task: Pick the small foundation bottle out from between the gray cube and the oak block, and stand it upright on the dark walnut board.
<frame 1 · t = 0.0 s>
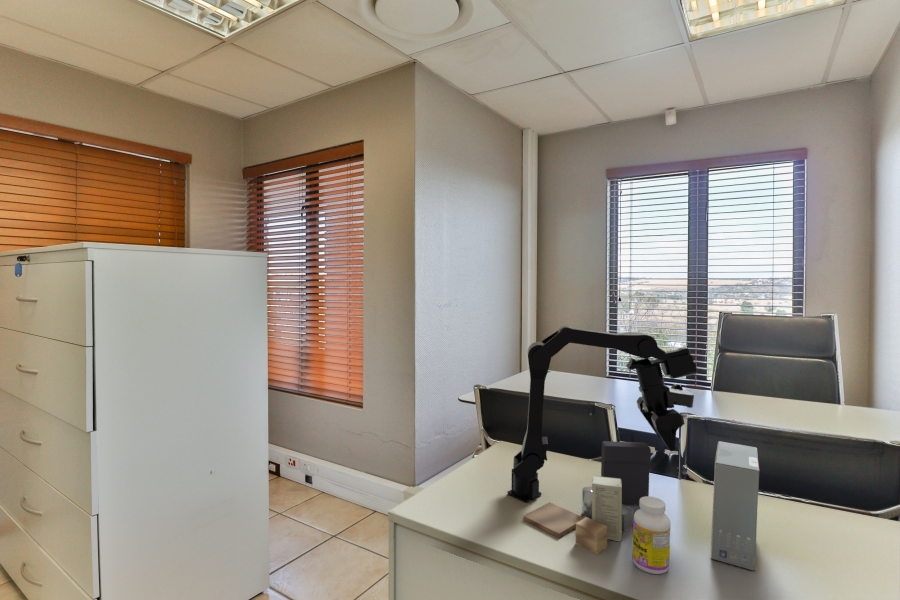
hand: (666, 443, 115), 15 cm above the table, tool pointing down, fingers open, 9 cm apart
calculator: (624, 502, 118), on the table
walnut board: (554, 521, 108), on the table
metal canister: (590, 514, 111), on the table
skincare box: (606, 535, 103), on the table
supplement bottle: (650, 566, 92), on the table
oak block: (591, 545, 99), on the table
gray cube: (620, 525, 107), on the table
hard drive box: (733, 547, 98), on the table
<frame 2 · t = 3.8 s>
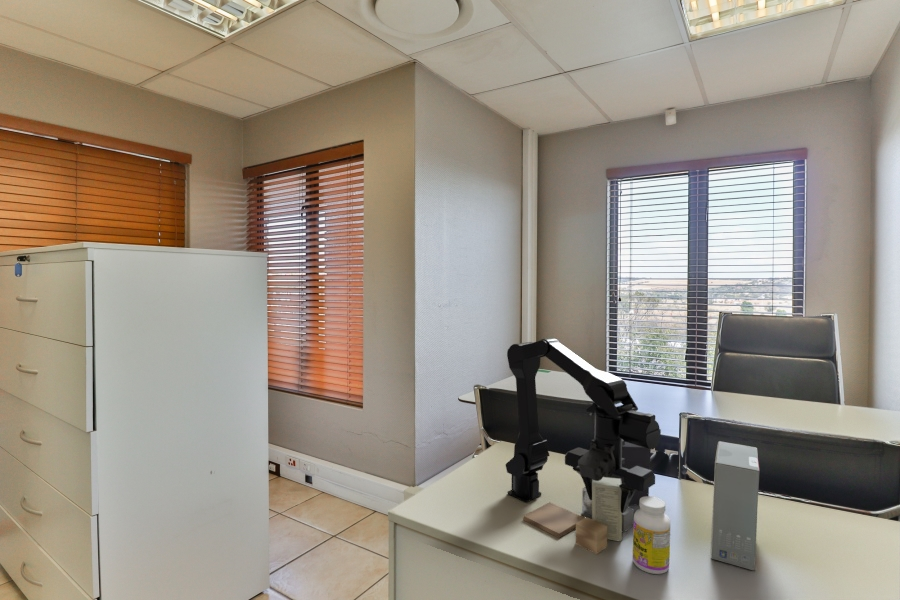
hand: (606, 505, 102), 7 cm above the table, tool pointing down, fingers closed on skincare box, 7 cm apart
skincare box: (606, 535, 103), on the table, touching gripper
everything else where it was.
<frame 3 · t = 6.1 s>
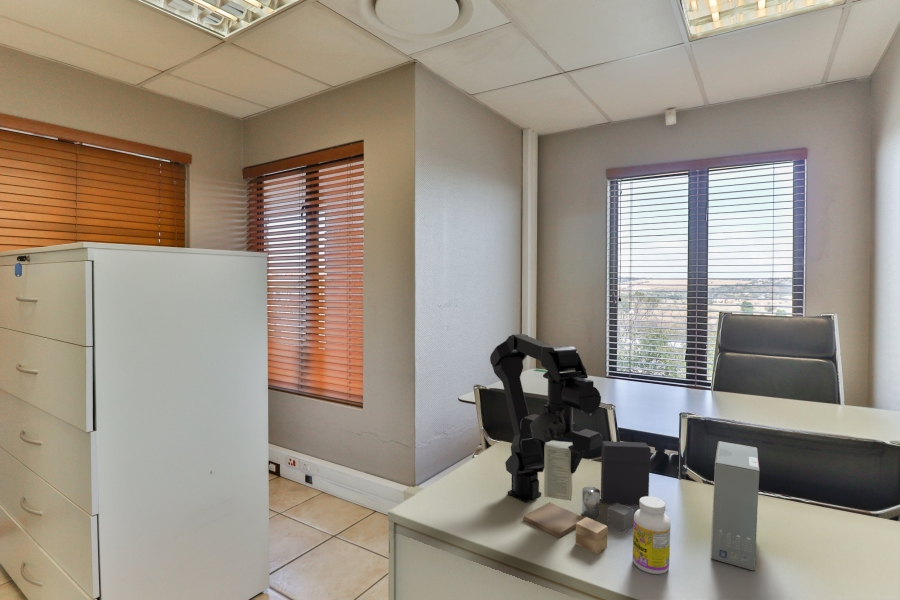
hand: (558, 467, 107), 13 cm above the table, tool pointing down, fingers closed on skincare box, 7 cm apart
skincare box: (557, 496, 108), point 6 cm above the table, touching gripper
everything else where it was.
when the fingers open (8 cm above the table, at t = 8.4 s): skincare box stays where it is, resting on walnut board.
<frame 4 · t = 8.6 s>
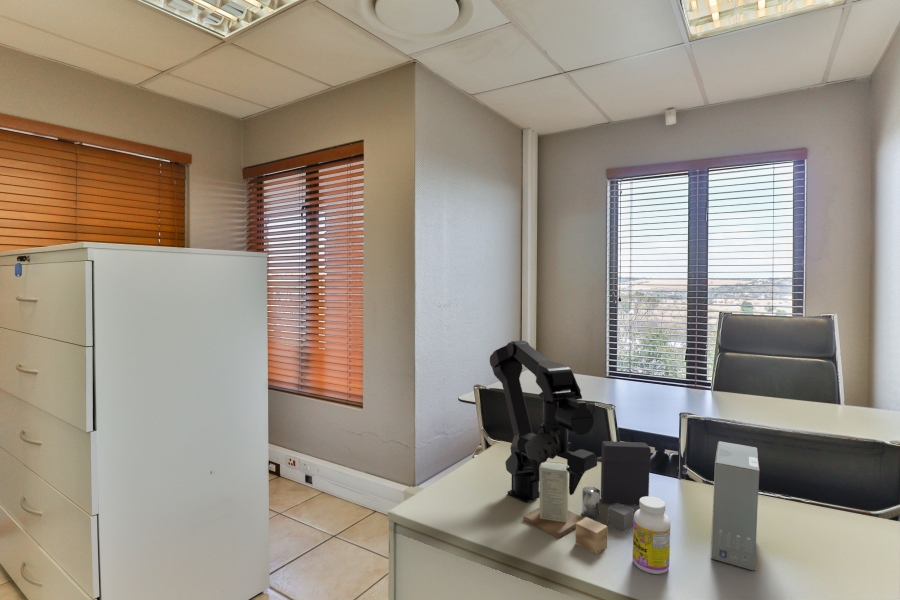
hand: (554, 487, 108), 8 cm above the table, tool pointing down, fingers open, 9 cm apart
skincare box: (553, 517, 108), point 1 cm above the table, touching walnut board
everything else where it was.
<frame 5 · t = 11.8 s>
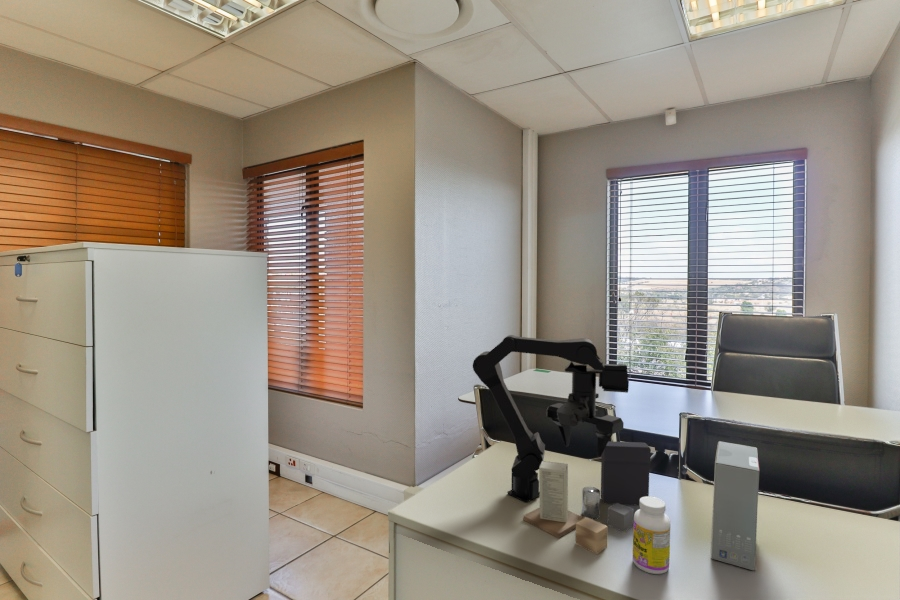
hand: (582, 451, 117), 13 cm above the table, tool pointing down, fingers open, 9 cm apart
nothing on the table moved.
at the end: skincare box 0.2 cm off-centre on the walnut board, point 0.8 cm above the walnut board's base; skincare box tilted 0°; oak block moved 0.1 cm from its start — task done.
